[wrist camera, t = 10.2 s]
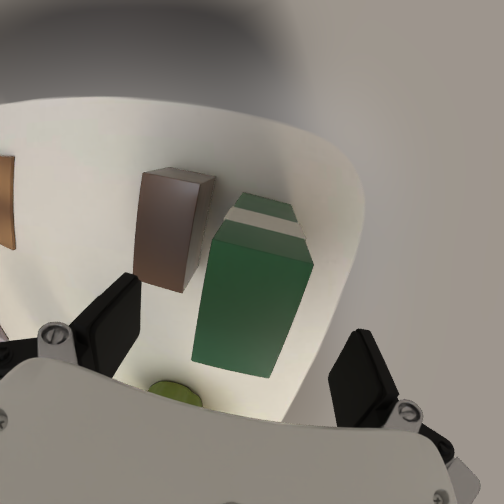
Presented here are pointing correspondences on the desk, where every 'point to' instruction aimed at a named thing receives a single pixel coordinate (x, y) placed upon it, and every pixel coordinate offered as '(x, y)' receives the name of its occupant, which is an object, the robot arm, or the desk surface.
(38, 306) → the desk surface
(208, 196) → the block
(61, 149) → the desk surface
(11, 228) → the coaster
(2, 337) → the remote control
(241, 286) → the block
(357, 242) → the desk surface
